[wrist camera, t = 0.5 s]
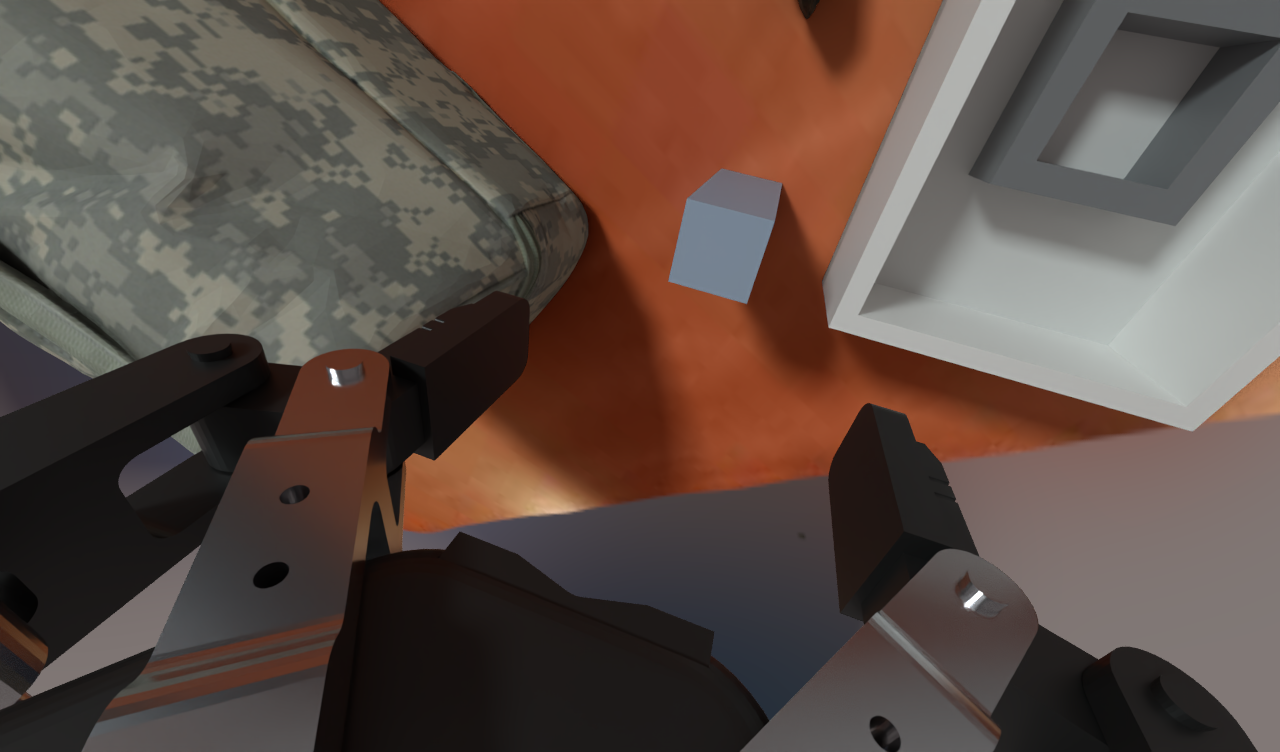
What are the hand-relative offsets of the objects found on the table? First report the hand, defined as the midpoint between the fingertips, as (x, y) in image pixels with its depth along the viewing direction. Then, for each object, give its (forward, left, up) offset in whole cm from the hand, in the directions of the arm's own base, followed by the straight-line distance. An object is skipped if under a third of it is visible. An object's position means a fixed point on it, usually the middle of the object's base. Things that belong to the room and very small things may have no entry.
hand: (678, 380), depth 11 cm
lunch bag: (+4, -23, -20) cm, 31 cm away
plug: (0, 0, -20) cm, 20 cm away
